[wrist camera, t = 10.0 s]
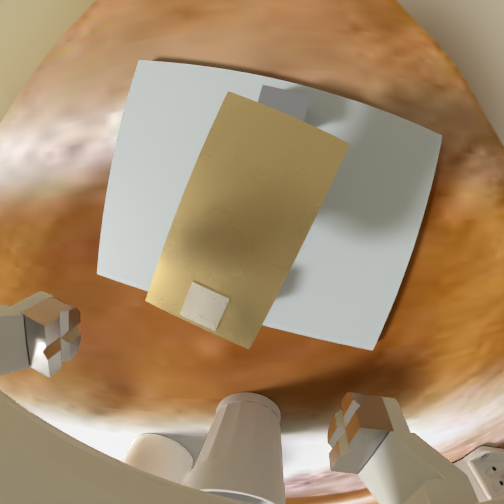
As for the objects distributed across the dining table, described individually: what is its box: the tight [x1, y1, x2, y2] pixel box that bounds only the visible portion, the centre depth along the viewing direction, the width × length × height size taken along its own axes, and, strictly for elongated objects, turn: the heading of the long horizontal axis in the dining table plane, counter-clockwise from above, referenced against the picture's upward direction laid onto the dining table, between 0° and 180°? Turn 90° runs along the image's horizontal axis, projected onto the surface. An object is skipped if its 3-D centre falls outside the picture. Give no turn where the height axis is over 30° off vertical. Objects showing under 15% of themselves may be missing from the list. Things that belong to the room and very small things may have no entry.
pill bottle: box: [122, 433, 193, 485], centre depth 26 cm, size 8×8×11 cm
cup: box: [184, 392, 286, 504], centre depth 22 cm, size 8×8×12 cm
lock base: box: [97, 60, 443, 350], centre depth 20 cm, size 24×18×7 cm
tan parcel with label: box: [145, 91, 349, 349], centre depth 14 cm, size 9×5×5 cm, turn 156°
